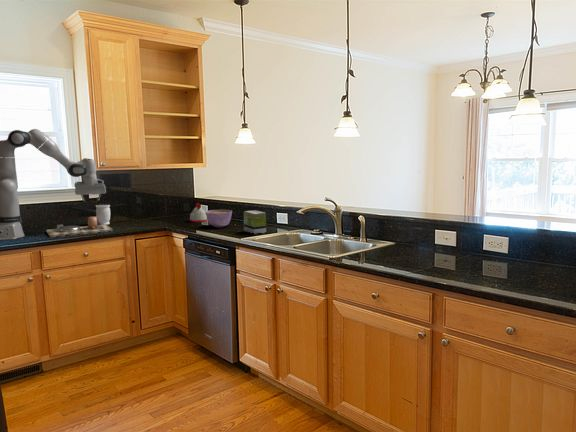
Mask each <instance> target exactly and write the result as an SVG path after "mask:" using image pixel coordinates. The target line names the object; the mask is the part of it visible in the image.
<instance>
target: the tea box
mask: <svg viewBox="0 0 576 432" xmlns="http://www.w3.org/2000/svg"><path fill="white" fill-rule="evenodd" d="M243 231H244V232H247V233H249V232H250V233H249V234H252V233H254V234H253V235H258V234H257V233H262V234H266V233H267V213H266V212H265V211H259V210H256V209H255V210H245V211H243ZM265 232H266V233H265Z"/></svg>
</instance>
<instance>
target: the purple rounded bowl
mask: <svg viewBox="0 0 576 432" xmlns="http://www.w3.org/2000/svg"><path fill="white" fill-rule="evenodd" d="M205 212H206V216H207V222H208V224H209V225H210V226H213V227H214V228H225V227H226V226H228V225H229V224H230V222H231V219H232V214H233V210H230V209H211V210H207V211H205Z"/></svg>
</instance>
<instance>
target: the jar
mask: <svg viewBox="0 0 576 432" xmlns="http://www.w3.org/2000/svg"><path fill="white" fill-rule="evenodd" d="M110 207H111V205H110V204H96V205H95V208H96V209H95V215H96V216H95V217H97V225H107V226H108V225H110V224H111V223H110V220H111V208H110Z"/></svg>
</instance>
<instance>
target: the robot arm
mask: <svg viewBox="0 0 576 432" xmlns="http://www.w3.org/2000/svg"><path fill="white" fill-rule="evenodd" d="M7 136H8V137H7V138H6V139H4V140H3V139H2V140H0V241H5V240H6V241H7V240H15V239H19V238H23V237H25V233H24V230H23V226H22V222H23V221H22V216H21V213H20V203H19V195H18V194H19V193H18V188H19V183H18V175H17V174H18V173H17V168H16V158H15V151H16V150H15V149H17V148H23V147H25V146H26V145H31V146H32V147H34V148H36V149H37V151H39V152H41V153H42V154H44V155H46V156H47V157H50V158H52V159H54V160H55V161H57V163H59V164H60V165H62V166H63V167H64V168H65V169H66V172H67V173H68V175H70V176H71V177H73V178H78V177H82V178H83V181H75V182H74V188H75V190H74V193H75V195H77V196H80V197H81V198H82V201H83V202H86V198H85V197H84V195H98V197H96V201H100V198H101V197H102V195H103V194H106V193H107V189H106V185H105V183H104V182H105V181H104V180H102V179H100V178H97V165H96V161H95V160H94V159H92V158H88V157H87V158H86V157H85V158H83V159H81V160H78V161H77V162H76V161H75V162H74V161H72V160H71V159H70V158H68V157H67V156H66V155H65V154H64V153H63V152H62V150H60V148H59V146H58V144H57V143H56V142H55V141H54V140H53V139H52V138H51V137H50V136H48V134H45V133H44V132H43V131H41V130H39V129H37V128H33V129H30V130H29V131H28V132H27V131H23V130H19V129H14V130H12V131H10V132H9V133H8V135H7Z"/></svg>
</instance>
